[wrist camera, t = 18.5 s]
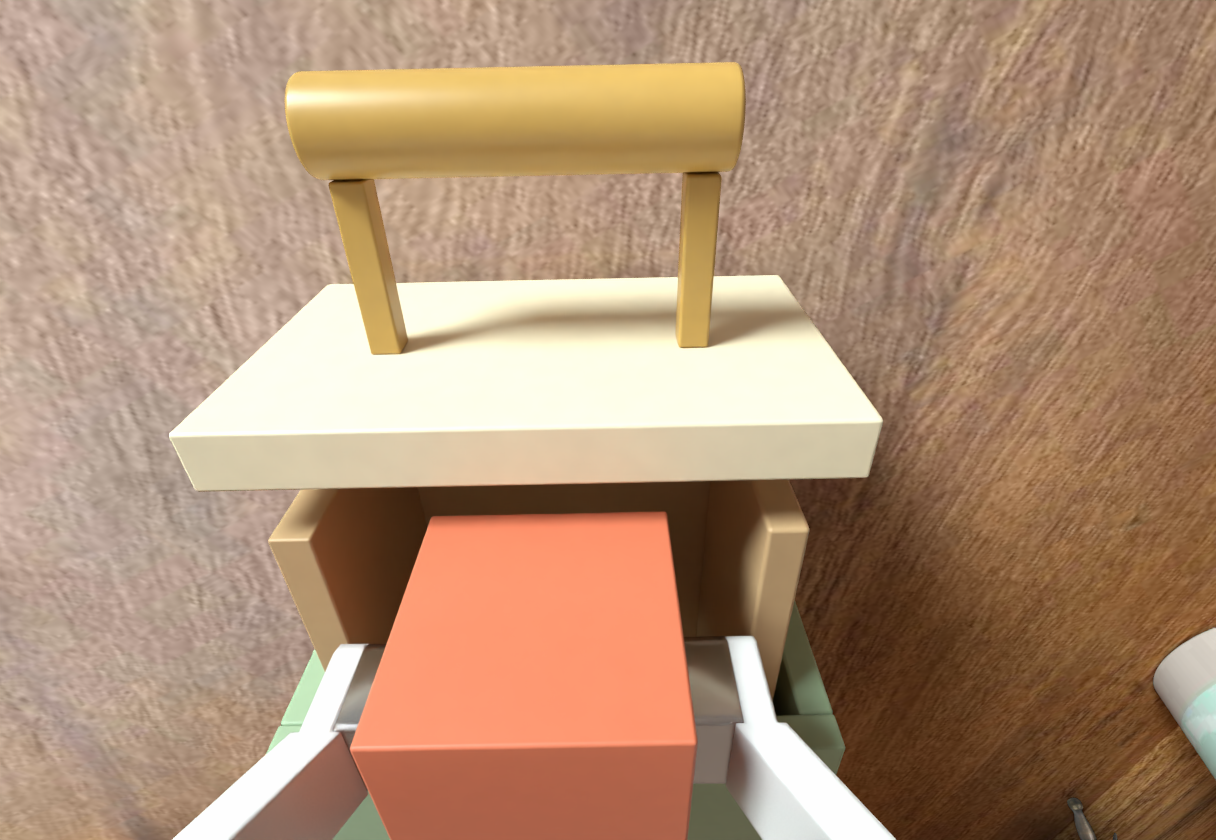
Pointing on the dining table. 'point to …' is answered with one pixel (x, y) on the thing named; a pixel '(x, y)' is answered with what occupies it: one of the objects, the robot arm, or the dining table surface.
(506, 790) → the block
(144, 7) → the dining table surface
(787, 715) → the cabinet
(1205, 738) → the coffee cup
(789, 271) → the dining table surface
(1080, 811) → the alarm clock
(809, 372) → the drawer
